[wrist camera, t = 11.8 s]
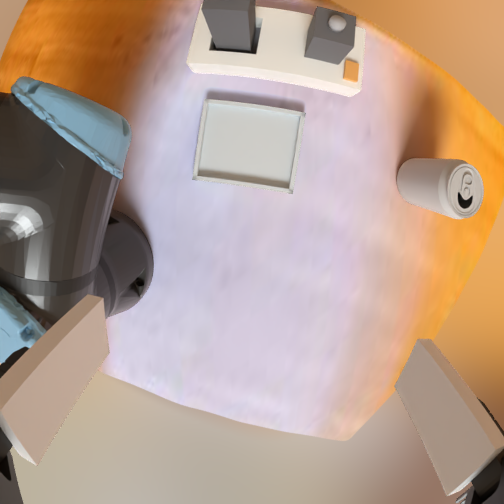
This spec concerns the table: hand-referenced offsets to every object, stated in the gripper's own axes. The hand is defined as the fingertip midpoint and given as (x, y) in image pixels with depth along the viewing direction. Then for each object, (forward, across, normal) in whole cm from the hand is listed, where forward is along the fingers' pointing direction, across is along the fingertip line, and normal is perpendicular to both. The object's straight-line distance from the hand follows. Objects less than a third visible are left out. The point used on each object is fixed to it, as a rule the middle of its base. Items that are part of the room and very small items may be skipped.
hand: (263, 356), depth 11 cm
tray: (+27, -3, +9) cm, 28 cm away
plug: (+26, -6, +22) cm, 35 cm away
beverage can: (+27, +20, +9) cm, 35 cm away
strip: (+27, -1, +22) cm, 35 cm away
